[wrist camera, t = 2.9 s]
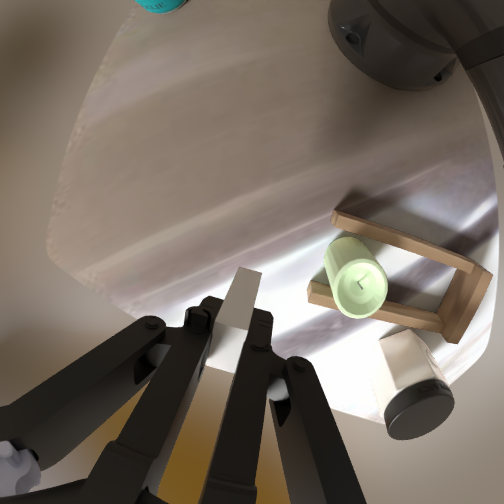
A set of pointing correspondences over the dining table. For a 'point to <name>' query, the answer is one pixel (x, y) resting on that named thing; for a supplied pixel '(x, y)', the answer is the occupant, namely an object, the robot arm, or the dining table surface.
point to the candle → (355, 278)
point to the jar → (408, 386)
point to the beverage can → (161, 5)
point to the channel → (443, 321)
